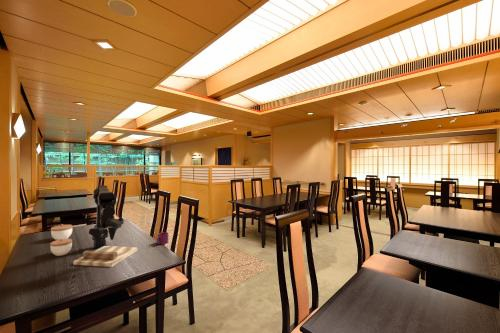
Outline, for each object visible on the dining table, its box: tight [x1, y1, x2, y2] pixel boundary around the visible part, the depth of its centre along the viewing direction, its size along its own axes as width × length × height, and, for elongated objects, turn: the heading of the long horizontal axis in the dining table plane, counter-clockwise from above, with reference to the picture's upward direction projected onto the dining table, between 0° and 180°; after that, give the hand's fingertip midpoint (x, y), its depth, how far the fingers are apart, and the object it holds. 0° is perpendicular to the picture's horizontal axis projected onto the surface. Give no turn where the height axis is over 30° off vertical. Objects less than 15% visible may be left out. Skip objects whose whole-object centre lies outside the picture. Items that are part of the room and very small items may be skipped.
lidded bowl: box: [50, 223, 73, 241], centre depth 170 cm, size 13×13×11 cm
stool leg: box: [82, 250, 117, 260], centre depth 132 cm, size 20×3×3 cm, turn 84°
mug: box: [156, 231, 169, 245], centre depth 162 cm, size 7×10×7 cm
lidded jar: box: [49, 238, 73, 257], centre depth 143 cm, size 11×11×9 cm
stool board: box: [73, 245, 139, 268], centre depth 139 cm, size 23×24×2 cm
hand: (106, 242), depth 128 cm, fingers open, 9 cm apart
